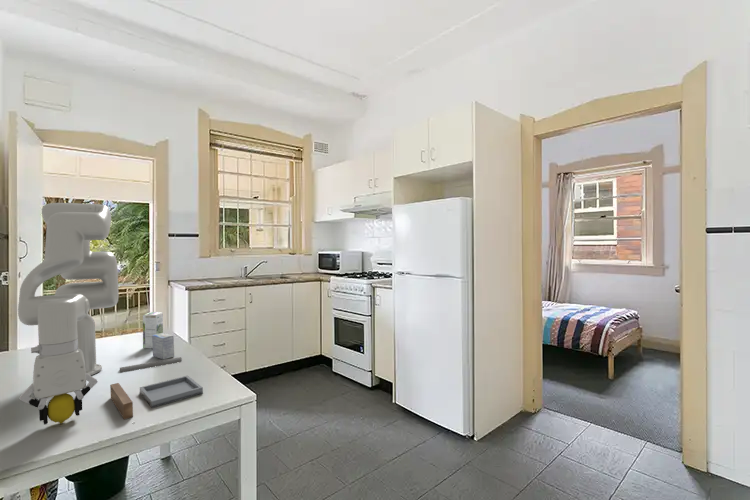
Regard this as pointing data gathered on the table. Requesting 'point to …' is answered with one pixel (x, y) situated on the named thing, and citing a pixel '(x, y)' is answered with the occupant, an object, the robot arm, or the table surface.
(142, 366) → the half round rod
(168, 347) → the medicine box
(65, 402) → the lemon
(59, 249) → the robot arm
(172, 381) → the gray tray
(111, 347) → the table surface
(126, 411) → the walnut wall
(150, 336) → the syrup box
